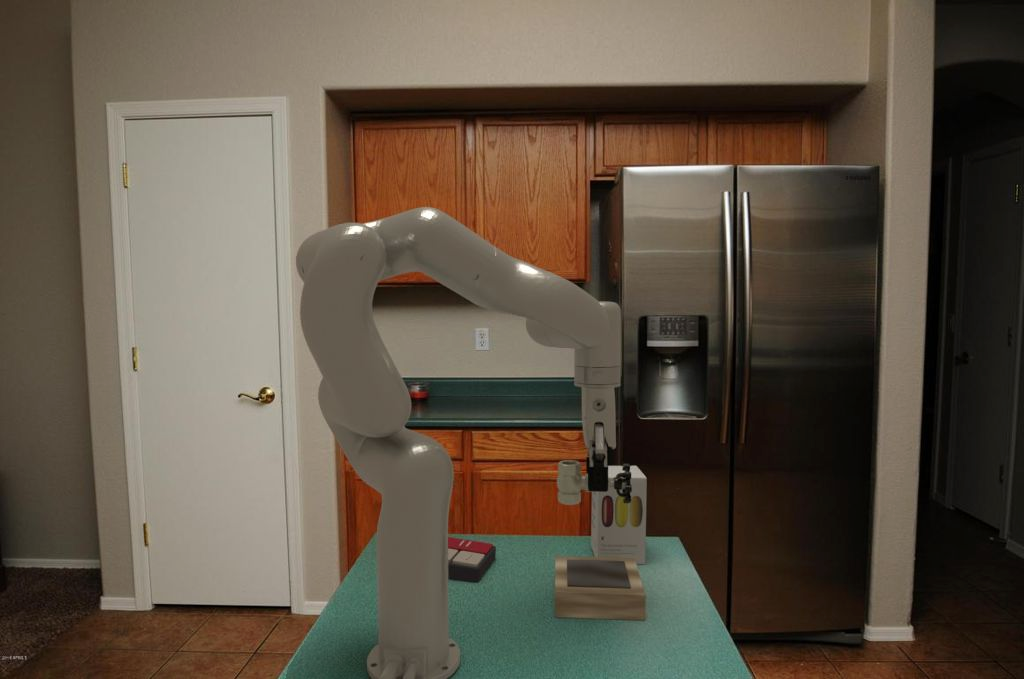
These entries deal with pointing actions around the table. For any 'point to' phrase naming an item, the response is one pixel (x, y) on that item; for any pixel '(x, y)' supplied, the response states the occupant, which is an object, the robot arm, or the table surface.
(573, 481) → the valve
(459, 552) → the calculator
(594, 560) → the tapered tan tray
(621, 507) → the supplement box
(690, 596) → the table surface
